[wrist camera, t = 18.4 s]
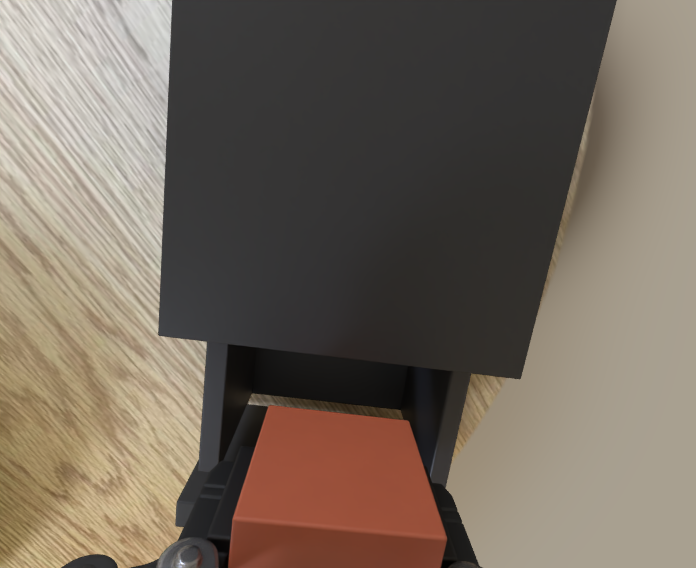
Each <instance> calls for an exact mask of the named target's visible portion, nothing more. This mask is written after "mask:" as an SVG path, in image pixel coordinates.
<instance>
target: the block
mask: <svg viewBox="0 0 696 568" xmlns="http://www.w3.org/2000/svg"><path fill="white" fill-rule="evenodd" d="M446 542H447V536H446V533H445V530H444V527H443V524H442V521H441V518H440V515H439V512H438V509H437V506H436V503H435V499H434V496H433V493H432V490H431V487H430V484H429V481H428V478H427V475H426V472H425V469H424V466H423V463H422V460H421V457H420V454H419V451H418V447H417V444H416V441H415V438H414V435H413V432H412V429H411V426H410V423H409V421H407V420H398V419H390V418H381V417H372V416H363V415H354V414H345V413H336V412H327V411H318V410H309V409H300V408H292V407H283V406H274V405H270V406H269V407H268V409H267V412H266V415H265V419H264V422H263V425H262V428H261V431H260V434H259V437H258V441H257V444H256V447H255V450H254V453H253V456H252V459H251V462H250V466H249V469H248V472H247V475H246V478H245V481H244V484H243V487H242V491H241V494H240V497H239V500H238V503H237V506H236V509H235V513H234V516H233V519H232V530H231V541H230V551H229V562H228V568H441V564H442V559H443V555H444V551H445V546H446Z"/></svg>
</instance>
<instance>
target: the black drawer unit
mask: <svg viewBox="0 0 696 568" xmlns="http://www.w3.org/2000/svg"><path fill="white" fill-rule="evenodd" d="M616 1H617V0H172V20H171V44H170V68H169V92H168V116H167V140H166V164H165V188H164V212H163V236H162V260H161V284H160V308H159V332H158V335H159V336H165V337H173V338H181V339H190V340H198V341H206V342H215V343H223V344H231V345H240V346H248V347H256V348H265V349H273V350H281V351H289V352H298V353H306V354H314V355H323V356H331V357H339V358H348V359H356V360H364V361H373V362H381V363H389V364H398V365H406V366H414V367H422V368H431V369H439V370H447V371H456V372H464V373H472V374H481V375H489V376H497V377H506V378H514V379H521V376H522V372H523V368H524V364H525V360H526V356H527V352H528V348H529V344H530V340H531V336H532V332H533V328H534V324H535V320H536V316H537V312H538V309H539V305H540V301H541V297H542V293H543V289H544V285H545V281H546V277H547V273H548V269H549V265H550V261H551V257H552V253H553V249H554V245H555V242H556V238H557V234H558V230H559V226H560V222H561V218H562V214H563V210H564V206H565V202H566V198H567V194H568V190H569V186H570V182H571V178H572V175H573V171H574V167H575V163H576V159H577V155H578V151H579V147H580V143H581V139H582V135H583V131H584V127H585V123H586V119H587V115H588V112H589V108H590V104H591V100H592V96H593V92H594V88H595V84H596V80H597V76H598V72H599V68H600V64H601V60H602V56H603V52H604V48H605V44H606V41H607V37H608V32H609V29H610V25H611V21H612V17H613V13H614V9H615V5H616Z"/></svg>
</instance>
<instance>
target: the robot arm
mask: <svg viewBox="0 0 696 568" xmlns="http://www.w3.org/2000/svg"><path fill="white" fill-rule="evenodd" d="M254 450H255V447H248V446H241V447H240V449H239V452H238V454H237V457H236V460H235V462H228V461H220V462H219V463H218V464H217V465H216V466H215V467H214V468H213V469H212V470H210V471H209V474H208V476H207V478H206V480H205V482H204V485H203V487H202V489H201V491H200V493H199V496H198V498H197V500H196V502H195V504H194V506H193V509H192V511H191V513H190V515H189V517H188V520H187V522H186V524H185V526H184V528H183V531H182V533H181V535H180V537H179V539H178V541H177V542H175V543H173V544H172V545H170V546H169V547H168V548H167V549H166V550H165V551H164V552H163V553H162V554H161V556H160V558H159V559H157V560H155V561H153V562H151V563H148V564H145V565H141V566H136V567H131V568H228V562H229V551H230V541H231V530H232V519H233V516H234V513H235V509H236V506H237V503H238V500H239V497H240V494H241V491H242V487H243V484H244V481H245V478H246V475H247V472H248V469H249V466H250V462H251V459H252V456H253V453H254ZM423 466H424V469H425V472H426V475H427V478H428V481H429V484H430V487H431V490H432V493H433V496H434V499H435V503H436V506H437V509H438V512H439V515H440V518H441V521H442V524H443V527H444V530H445V533H446V536H447V542H446V546H445V551H444V555H443V559H442V564H441V568H482V567H480V566H479V564H478V562H477V559H476V556H475V554H474V551H473V548H472V546H471V543H470V541H469V538H468V536H467V533H466V531H465V528H464V525H463V524H462V520H461V518H460V515H459V513H458V512H457V507H456V505H455V502H454V500H453V498H452V496H451V494H450V493H449V492H448V491H447V490H446V489H445V487H444V486H443V485H442V484H438V483H432V481H431V478H430V475H429V472H428V469H427V467H426V466H425V465H423ZM62 568H118V567H117V564H116V562H115V561H114V560H113V559H112V558H110V557H108V556H105V555H99V554H95V555H87V556H84V557H80V558H78V559H75V560H73V561H71V562H69V563H68V564H66V565H65V566H63V567H62Z"/></svg>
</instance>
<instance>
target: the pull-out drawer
mask: <svg viewBox="0 0 696 568" xmlns="http://www.w3.org/2000/svg"><path fill="white" fill-rule="evenodd" d="M470 376H471V373H464V372H456V371H447V370H439V369H431V368H422V367H414V366H406V365H398V364H389V363H381V362H373V361H364V360H356V359H348V358H339V357H331V356H323V355H314V354H306V353H298V352H289V351H281V350H273V349H265V348H256V347H248V346H240V345H231V344H223V343H215V342H207V351H206V366H205V380H204V394H203V409H202V423H201V437H200V452H199V460H198V462H197V464H196V466H195V468H194V470H193V472H192V474H191V475H190V477H189V479H188V481H187V483H186V485H185V487H184V489H183V491H182V493H181V495H180V497H179V499H178V501H177V506H176V523H175V525H176V526H177V527H184V526H185V524H186V522H187V520H188V517H189V515H190V513H191V511H192V509H193V506H194V504H195V502H196V500H197V498H198V496H199V493H200V491H201V489H202V487H203V485H204V482H205V480H206V478H207V476H208V474H209V471H210V470H212V469H213V468H214V467H215V466H216V465H217V464H218V463H219V462H220V461H228V462H235V460H236V457H237V454H238V452H239V449H240V447H241V446H248V447H256V444H257V441H258V437H259V434H260V431H261V428H262V425H263V422H264V419H265V415H266V412H267V409H268V407H267V406H258V405H249V404H248V401H249V399H250V397H251V394H252V393H257V394H265V395H274V396H283V397H292V398H301V399H310V400H318V401H327V402H336V403H345V404H354V405H363V406H371V407H380V408H389V409H398V410H401V413H402V416H403V419H404V420H407V421H409V423H410V426H411V429H412V432H413V435H414V438H415V441H416V444H417V447H418V451H419V454H420V457H421V460H422V463H423V465H425V466H426V467H427V469H428V472H429V475H430V478H431V481H432V483H438V484H442V485H443V486H444V487H446V483H447V478H448V474H449V470H450V465H451V461H452V457H453V452H454V448H455V443H456V439H457V434H458V430H459V425H460V421H461V416H462V412H463V408H464V403H465V399H466V394H467V390H468V385H469V381H470Z"/></svg>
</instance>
